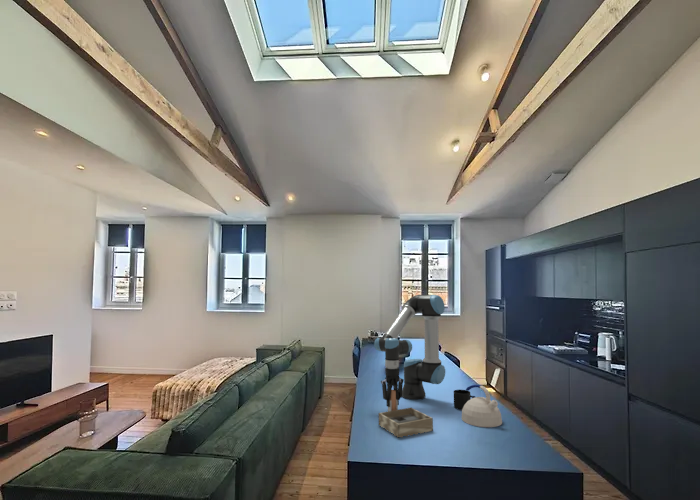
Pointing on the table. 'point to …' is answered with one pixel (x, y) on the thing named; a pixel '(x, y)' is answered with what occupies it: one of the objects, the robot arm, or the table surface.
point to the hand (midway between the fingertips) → (392, 412)
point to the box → (405, 422)
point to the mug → (461, 398)
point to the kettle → (481, 410)
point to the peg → (393, 399)
